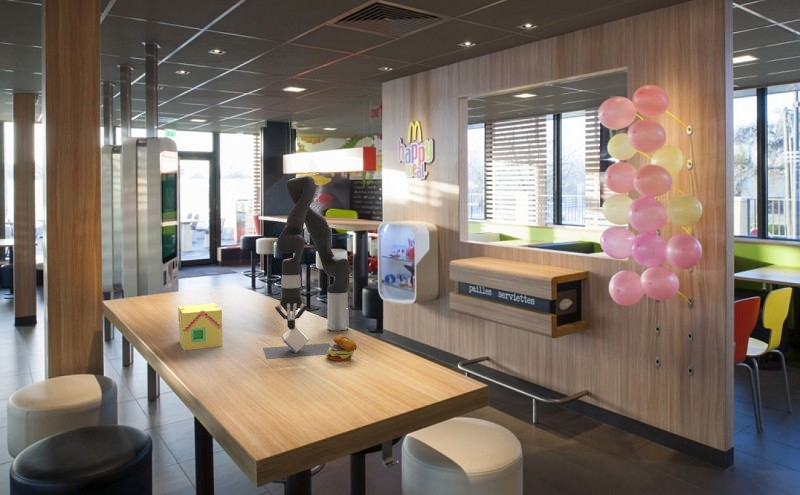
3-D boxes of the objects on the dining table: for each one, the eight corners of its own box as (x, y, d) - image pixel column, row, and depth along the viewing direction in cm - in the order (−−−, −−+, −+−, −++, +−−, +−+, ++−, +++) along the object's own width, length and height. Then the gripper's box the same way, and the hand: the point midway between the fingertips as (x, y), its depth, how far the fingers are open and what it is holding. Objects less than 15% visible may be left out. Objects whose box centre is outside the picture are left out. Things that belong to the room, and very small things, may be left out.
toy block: (183, 350, 232) (182, 313, 230) (179, 341, 245) (178, 306, 243) (222, 346, 239) (221, 310, 237) (215, 337, 252) (215, 303, 250)
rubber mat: (328, 343, 243) (328, 343, 243) (336, 354, 228) (336, 353, 228) (262, 348, 235) (262, 347, 235) (266, 359, 220) (266, 359, 220)
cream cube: (293, 348, 234) (306, 336, 235) (295, 353, 228) (308, 340, 229) (281, 336, 232) (294, 324, 233) (283, 341, 226) (296, 328, 227)
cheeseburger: (325, 354, 227) (331, 330, 227) (352, 360, 228) (358, 336, 228) (324, 361, 217) (331, 336, 217) (352, 368, 218) (359, 342, 218)
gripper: (306, 283, 234) (306, 326, 235) (272, 284, 230) (273, 327, 231) (309, 286, 227) (309, 330, 228) (274, 288, 222) (275, 332, 224)
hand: (291, 329), depth 230 cm, fingers closed
